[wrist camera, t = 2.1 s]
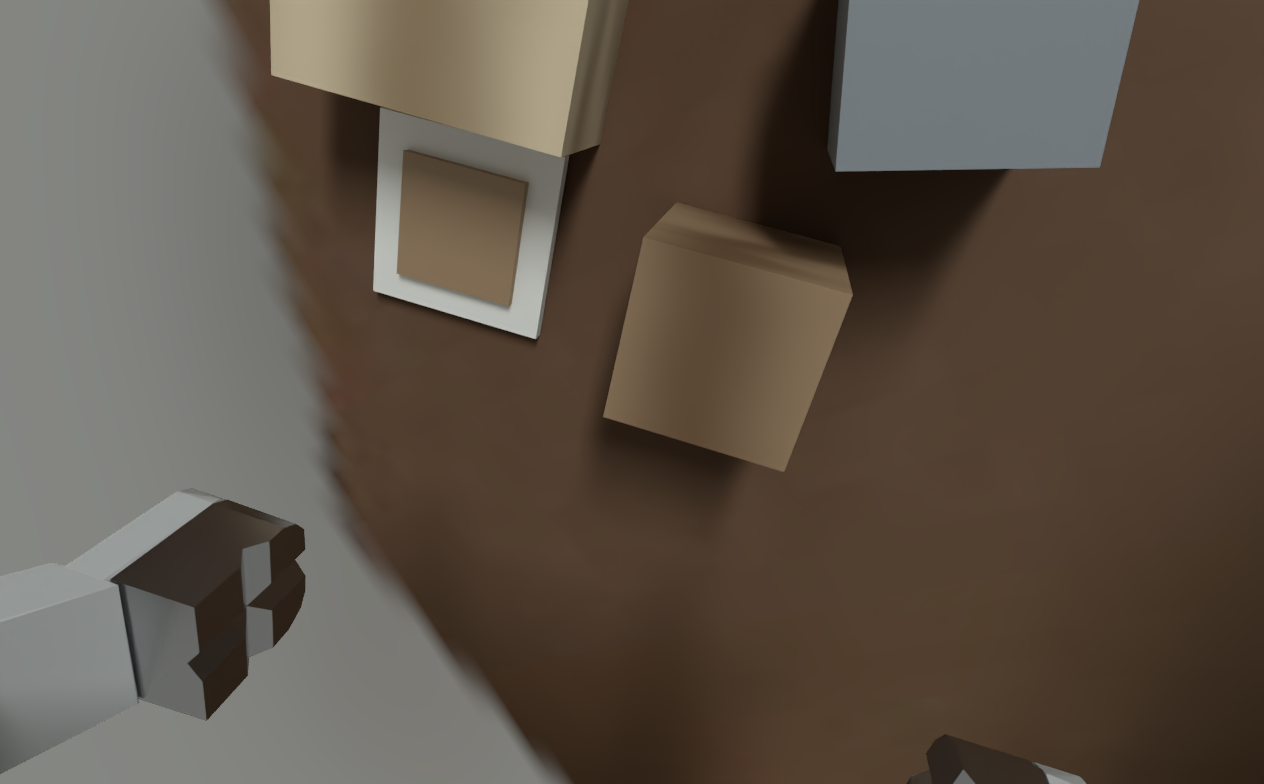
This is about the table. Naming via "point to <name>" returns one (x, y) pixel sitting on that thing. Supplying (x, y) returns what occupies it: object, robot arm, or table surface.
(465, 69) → the oak base block
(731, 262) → the walnut cube
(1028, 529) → the table surface
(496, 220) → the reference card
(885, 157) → the slate cube
